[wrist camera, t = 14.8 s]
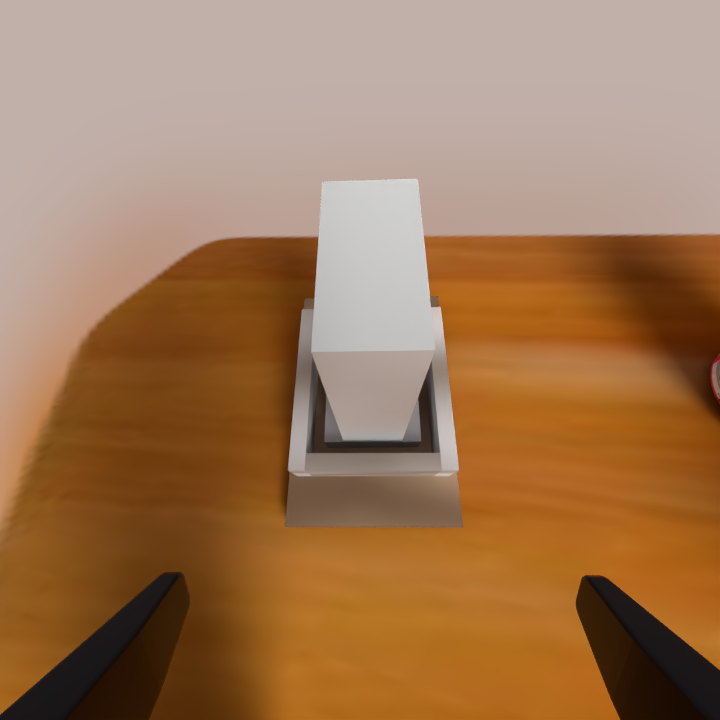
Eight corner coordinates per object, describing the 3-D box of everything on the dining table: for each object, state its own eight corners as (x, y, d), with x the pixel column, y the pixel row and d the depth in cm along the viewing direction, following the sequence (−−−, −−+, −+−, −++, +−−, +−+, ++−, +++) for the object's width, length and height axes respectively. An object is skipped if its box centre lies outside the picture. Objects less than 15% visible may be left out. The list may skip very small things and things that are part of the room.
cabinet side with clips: (457, 527, 19) (475, 528, 15) (290, 526, 19) (272, 527, 16) (434, 306, 24) (444, 273, 21) (307, 308, 25) (297, 275, 21)
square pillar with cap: (417, 447, 19) (477, 349, 8) (327, 447, 19) (270, 352, 8) (410, 333, 22) (445, 152, 11) (332, 334, 22) (293, 157, 11)
